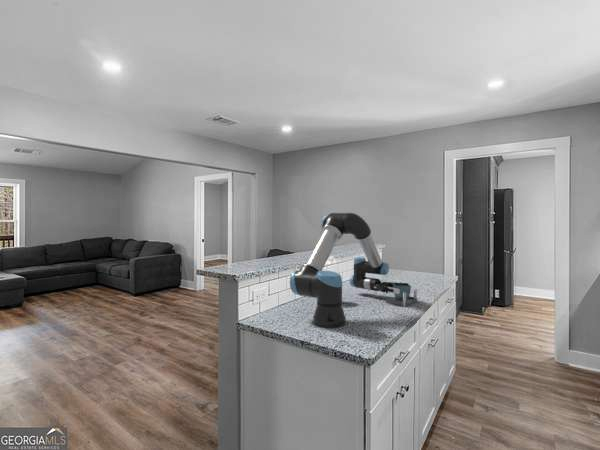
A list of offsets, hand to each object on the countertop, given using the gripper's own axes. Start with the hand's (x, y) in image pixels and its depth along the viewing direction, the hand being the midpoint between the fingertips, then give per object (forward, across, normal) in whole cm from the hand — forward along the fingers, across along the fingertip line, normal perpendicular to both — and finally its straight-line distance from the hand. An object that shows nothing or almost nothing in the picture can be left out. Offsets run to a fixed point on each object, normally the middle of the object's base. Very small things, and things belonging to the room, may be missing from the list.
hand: (405, 289), depth 185 cm
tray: (-2, 0, -8) cm, 8 cm away
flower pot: (-2, 0, -6) cm, 7 cm away
